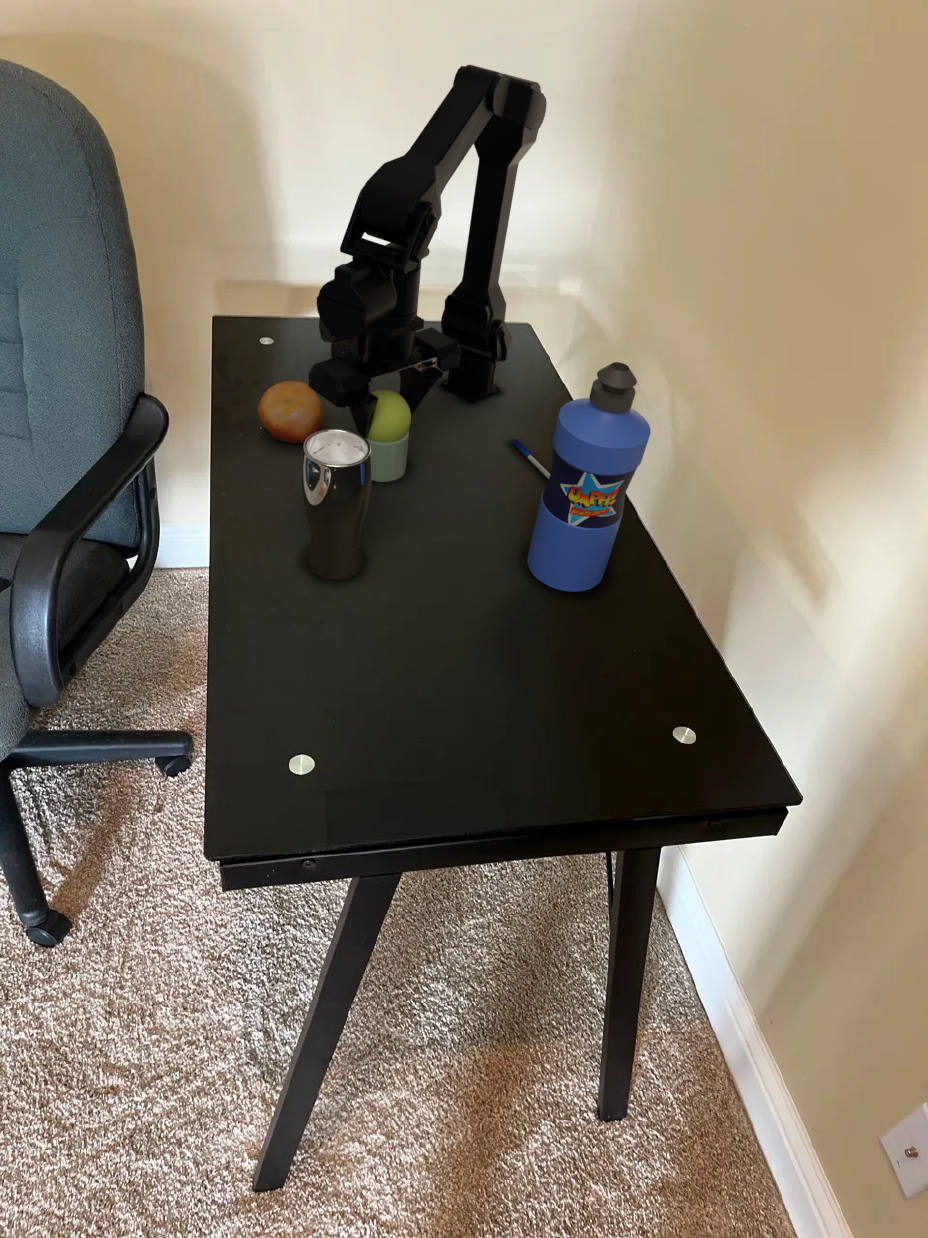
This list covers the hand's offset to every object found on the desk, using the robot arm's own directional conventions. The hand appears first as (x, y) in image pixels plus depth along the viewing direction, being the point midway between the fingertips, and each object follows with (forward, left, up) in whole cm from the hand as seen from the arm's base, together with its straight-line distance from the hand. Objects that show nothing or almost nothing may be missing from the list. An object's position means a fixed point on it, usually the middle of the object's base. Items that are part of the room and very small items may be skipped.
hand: (383, 429), depth 101 cm
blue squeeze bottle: (-5, +27, -6) cm, 28 cm away
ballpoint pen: (-17, +11, -6) cm, 21 cm away
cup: (0, 0, -6) cm, 6 cm away
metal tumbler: (+16, +11, -6) cm, 20 cm away
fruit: (+5, -12, -6) cm, 14 cm away
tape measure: (-14, -22, -6) cm, 27 cm away
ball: (0, 0, +2) cm, 2 cm away
